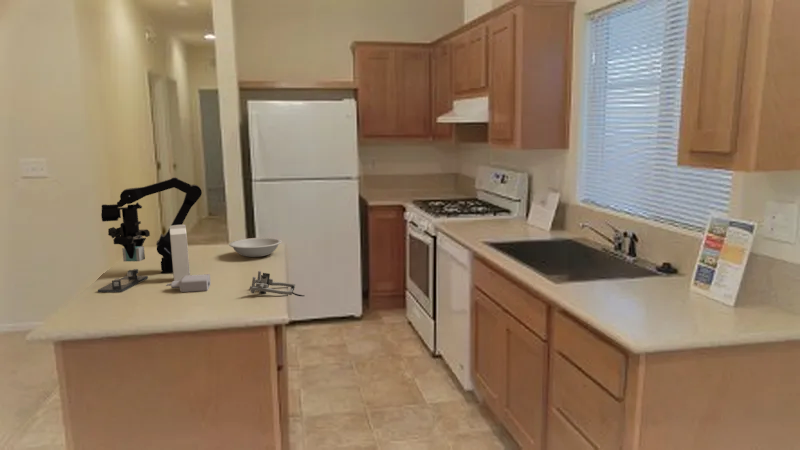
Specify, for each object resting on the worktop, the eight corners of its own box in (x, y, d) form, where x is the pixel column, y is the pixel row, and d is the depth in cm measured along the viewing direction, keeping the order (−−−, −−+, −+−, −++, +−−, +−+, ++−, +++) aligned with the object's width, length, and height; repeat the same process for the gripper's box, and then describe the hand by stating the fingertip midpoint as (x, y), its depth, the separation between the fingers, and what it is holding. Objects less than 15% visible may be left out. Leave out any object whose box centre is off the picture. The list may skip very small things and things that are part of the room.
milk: (190, 280, 228) (186, 225, 225) (174, 282, 226) (169, 226, 222) (189, 276, 234) (185, 223, 230) (173, 278, 232) (169, 224, 228)
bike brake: (246, 295, 202) (303, 302, 203) (248, 277, 201) (305, 284, 202) (255, 286, 216) (308, 292, 217) (257, 268, 215) (310, 275, 216)
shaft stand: (147, 278, 233) (146, 268, 232) (121, 292, 213) (120, 281, 212) (126, 278, 233) (125, 268, 232) (97, 292, 213) (96, 281, 212)
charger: (169, 287, 218) (210, 285, 221) (164, 294, 209) (207, 291, 212) (168, 275, 218) (209, 273, 220) (163, 281, 209) (206, 279, 211)
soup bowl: (276, 261, 259) (275, 246, 258) (223, 262, 259) (222, 247, 258) (287, 250, 283) (286, 237, 282) (238, 251, 283) (237, 237, 282)
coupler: (144, 258, 239) (143, 246, 238) (139, 261, 235) (138, 248, 234) (128, 259, 240) (127, 246, 239) (123, 261, 235) (122, 248, 234)
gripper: (123, 216, 244) (126, 252, 247) (98, 223, 226) (102, 262, 228) (148, 216, 244) (152, 252, 246) (126, 223, 225) (130, 262, 228)
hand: (134, 257), depth 237 cm, fingers closed on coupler, 4 cm apart
